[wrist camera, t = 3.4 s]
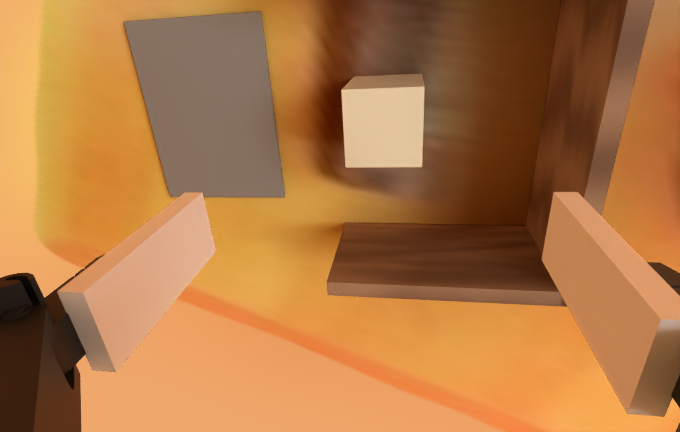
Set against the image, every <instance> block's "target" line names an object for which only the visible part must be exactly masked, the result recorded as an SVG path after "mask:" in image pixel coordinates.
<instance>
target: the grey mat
mask: <svg viewBox="0 0 680 432" xmlns="http://www.w3.org/2000/svg"><path fill="white" fill-rule="evenodd" d="M124 25H125V29H126V33H127V37H128V40H129V44H130V48H131V52H132V55H133V59H134V63H135V67H136V70H137V74H138V78H139V82H140V86H141V89H142V93H143V97H144V101H145V104H146V108H147V112H148V116H149V119H150V123H151V127H152V131H153V134H154V138H155V142H156V146H157V150H158V153H159V157H160V161H161V165H162V168H163V172H164V176H165V180H166V183H167V187H168V191H169V195H170V197H180V196H181V195H182V194H183V193H185V192H202V193H203V197H277V198H284V197H285V191H284V184H283V176H282V168H281V160H280V153H279V145H278V137H277V130H276V122H275V114H274V106H273V99H272V91H271V83H270V76H269V68H268V60H267V53H266V45H265V37H264V29H263V22H262V14H261V12H246V13H233V14H220V15H206V16H193V17H179V18H166V19H152V20H139V21H126V22H124Z"/></svg>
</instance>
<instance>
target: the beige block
mask: <svg viewBox="0 0 680 432" xmlns="http://www.w3.org/2000/svg"><path fill="white" fill-rule="evenodd" d="M424 92H425V86H424V81H423V76H422V74H400V75H377V76H354V77H353V78H352V79H351V80H350V81H349V82H348V83H347V84H346V85H345V86H344V87H343V88H342V89H341V95H342V112H343V130H344V148H345V166H346V167H422V156H423V124H424Z"/></svg>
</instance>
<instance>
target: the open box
mask: <svg viewBox="0 0 680 432" xmlns="http://www.w3.org/2000/svg"><path fill="white" fill-rule="evenodd" d="M654 1H655V0H562V1H561V7H560V14H559V20H558V26H557V32H556V39H555V45H554V51H553V58H552V64H551V70H550V76H549V83H548V89H547V95H546V102H545V108H544V114H543V120H542V127H541V133H540V139H539V146H538V152H537V158H536V164H535V171H534V177H533V183H532V190H531V196H530V202H529V208H528V215H527V221H526V226H517V225H458V224H399V223H345V226H344V229H343V232H342V235H341V239H340V242H339V245H338V248H337V251H336V254H335V258H334V261H333V264H332V267H331V270H330V273H329V277H328V280H327V291H328V295H337V296H358V297H379V298H400V299H420V300H441V301H462V302H483V303H504V304H525V305H546V306H567V305H566V303H565V301H564V299H563V298H562V296H561V294H560V292H559V290H558V289H557V287H556V285H555V283H554V281H553V279H552V278H551V276H550V274H549V272H548V270H547V269H546V267H545V265H544V263H543V261H542V254H543V248H544V243H545V237H546V232H547V226H548V221H549V215H550V210H551V204H552V199H553V193H554V192H578V193H579V194H580V195H581V196H582V197H583V198H584V199H585V200H586V201H587V202H588V203H589V204H590V205H591V206H592V207H593V208H594V209H595V210H596V211H597V212H598V213H599V214H600V215H601V214H602V210H603V206H604V202H605V198H606V194H607V190H608V186H609V182H610V178H611V174H612V170H613V166H614V162H615V158H616V154H617V150H618V146H619V142H620V138H621V134H622V130H623V126H624V122H625V118H626V114H627V110H628V106H629V102H630V98H631V94H632V89H633V85H634V81H635V77H636V73H637V69H638V65H639V61H640V57H641V53H642V49H643V45H644V41H645V37H646V33H647V29H648V25H649V21H650V17H651V13H652V9H653V5H654Z"/></svg>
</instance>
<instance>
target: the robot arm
mask: <svg viewBox="0 0 680 432" xmlns="http://www.w3.org/2000/svg"><path fill="white" fill-rule="evenodd" d="M215 252H216V249H215V245H214V240H213V236H212V232H211V227H210V223H209V219H208V214H207V210H206V206H205V201H204V197H203V193H202V192H185V193H183V194H182V195H181V196H180V197H178V198H177V199H176V200H174V201H173V202H172V203H171V204H169V205H168V206H167V207H165V208H164V209H163V210H162V211H160V212H159V213H158V214H156V215H155V216H154V217H153V218H151V219H150V220H149V221H147V222H146V223H145V224H143V225H142V226H141V227H140V228H138V229H137V230H136V231H134V232H133V233H132V234H131V235H129V236H128V237H127V238H125V239H124V240H123V241H122V242H120V243H119V244H118V245H116V246H115V247H114V248H113V249H111V250H110V251H109V252H107V253H106V254H104V255H102V256H100V257H98V258H96V259H95V260H94V261H92V262H91V263H90V264H88V265H87V266H86V267H85V269H82V270H81V271H79V272H78V273H77V274H76V275H75V276H73V277H72V278H70V279H69V280H67V281H66V282H65V283H64V284H62V285H61V286H60V287H58V288H57V289H56V290H54V291H53V292H52V293H51V294H49V295H48V296H47V297H45V298H44V297H43V294H42V293H41V290H40V288H39V286H38V284H37V282H36V280H35V277H34V275H32V274H29V273H17V274H12V275H8V276H5V277H2V278H0V432H81V399H80V398H81V396H80V395H81V394H80V373H79V370H78V368H77V366H76V363H77V362H78V361H79V360H80V359H81V358H82V357H83V356H84V355H86V357H87V359H88V361H89V364H90V366H91V368H92V370H96V371H109V372H117V371H118V369H119V368H120V367H121V366H122V365H123V363H124V362H125V361H126V360H127V359H128V357H129V356H130V355H131V354H132V353H133V351H134V350H135V349H136V348H137V346H138V345H139V344H140V343H141V342H142V340H143V339H144V338H145V337H146V336H147V334H148V333H149V332H150V331H151V330H152V328H153V327H154V326H155V325H156V323H157V322H158V321H159V320H160V319H161V318H162V316H163V315H164V314H165V313H166V311H167V310H168V309H169V308H170V307H171V305H172V304H173V303H174V302H175V301H176V299H177V298H178V297H179V296H180V295H181V293H182V292H183V291H184V290H185V289H186V287H187V286H188V285H189V284H190V282H191V281H192V280H193V279H194V278H195V276H196V275H197V274H198V273H199V272H200V270H201V269H202V268H203V267H204V266H205V264H206V263H207V262H208V261H209V260H210V258H211V257H212V256H213V255H214V253H215ZM542 261H543V263H544V265H545V267H546V269H547V270H548V272H549V274H550V276H551V278H552V279H553V281H554V283H555V285H556V287H557V289H558V290H559V292H560V294H561V296H562V298H563V299H564V301H565V303H566V305H567V307H568V308H569V310H570V312H571V314H572V316H573V317H574V319H575V321H576V323H577V325H578V326H579V328H580V330H581V332H582V334H583V335H584V337H585V339H586V341H587V343H588V344H589V346H590V348H591V350H592V352H593V353H594V355H595V357H596V359H597V361H598V362H599V364H600V366H601V368H602V370H603V371H604V373H605V375H606V377H607V379H608V380H609V382H610V384H611V386H612V388H613V389H614V391H615V393H616V395H617V397H618V398H619V400H620V402H621V404H622V406H623V407H624V409H625V411H626V413H627V414H637V415H649V416H661V417H664V416H665V414H666V412H667V409H668V407H669V404H670V402H671V400H672V397H673V399H674V400H675V402H676V403H677V405H678V406H679V407H680V273H678V272H676V271H674V270H672V269H671V268H669V267H667V266H665V265H663V264H661V263H652V262H646V261H645V260H644V259H643V258H642V257H641V256H640V255H639V254H638V253H637V252H636V251H635V250H634V249H633V248H632V247H631V246H630V245H629V244H628V243H627V242H626V241H625V240H624V239H623V238H622V237H621V236H620V235H619V234H618V233H617V232H616V231H615V230H614V229H613V228H612V227H611V225H610V224H609V223H608V222H607V221H606V220H605V219H604V218H603V217H602V216H601V215H600V214H599V213H598V212H597V211H596V210H595V209H594V208H593V207H592V206H591V205H590V204H589V203H588V202H587V201H586V200H585V199H584V198H583V197H582V196H581V195H580V194H579V193H578V192H554V193H553V199H552V204H551V210H550V215H549V221H548V226H547V232H546V237H545V243H544V248H543V254H542ZM676 432H680V423H679V426H678V428H677V430H676Z"/></svg>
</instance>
